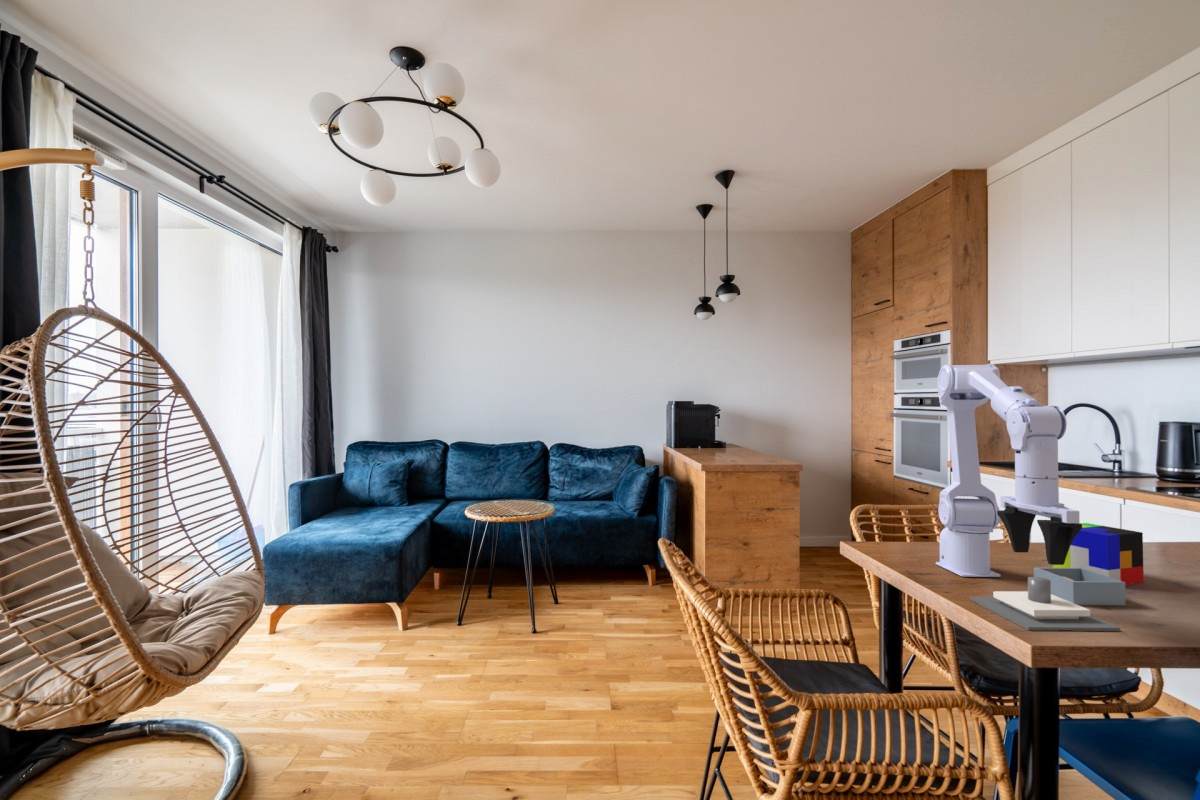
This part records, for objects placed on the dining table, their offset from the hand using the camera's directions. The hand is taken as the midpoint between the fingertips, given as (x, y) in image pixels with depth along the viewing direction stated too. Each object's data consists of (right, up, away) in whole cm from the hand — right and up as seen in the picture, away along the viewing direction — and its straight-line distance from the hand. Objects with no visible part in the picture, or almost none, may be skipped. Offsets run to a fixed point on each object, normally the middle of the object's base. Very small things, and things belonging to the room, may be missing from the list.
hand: (1037, 557), depth 92 cm
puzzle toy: (+29, -10, +20) cm, 36 cm away
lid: (0, -9, 0) cm, 9 cm away
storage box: (+14, -10, +8) cm, 19 cm away
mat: (0, -9, 0) cm, 9 cm away
